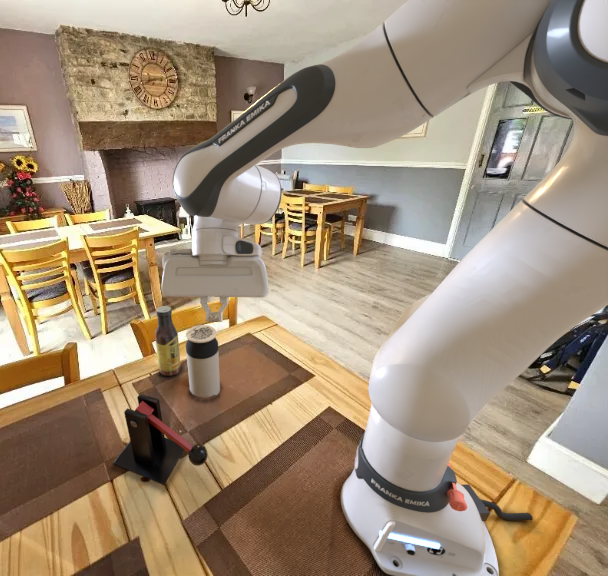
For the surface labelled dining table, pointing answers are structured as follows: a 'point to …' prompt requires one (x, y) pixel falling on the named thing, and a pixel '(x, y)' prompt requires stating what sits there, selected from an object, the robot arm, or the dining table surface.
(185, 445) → the lever
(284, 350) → the dining table surface
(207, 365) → the travel mug
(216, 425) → the dining table surface
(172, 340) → the sauce bottle
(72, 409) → the dining table surface
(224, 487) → the dining table surface
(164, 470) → the bracket
